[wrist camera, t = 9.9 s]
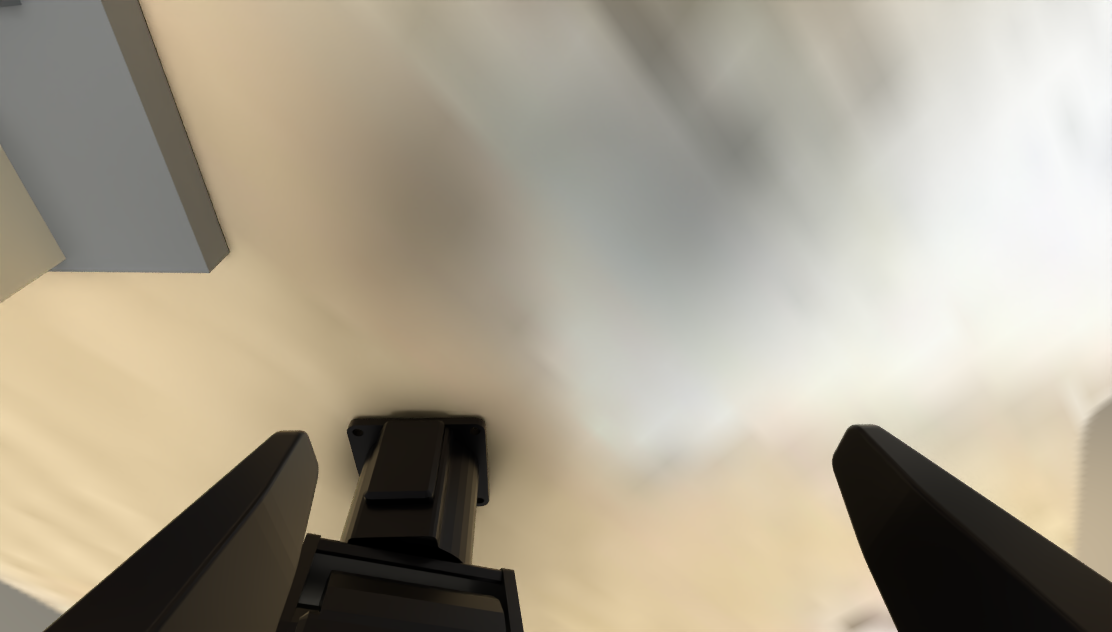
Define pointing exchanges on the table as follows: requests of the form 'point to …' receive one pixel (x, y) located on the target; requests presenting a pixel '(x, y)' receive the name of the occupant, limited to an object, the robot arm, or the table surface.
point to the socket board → (94, 149)
